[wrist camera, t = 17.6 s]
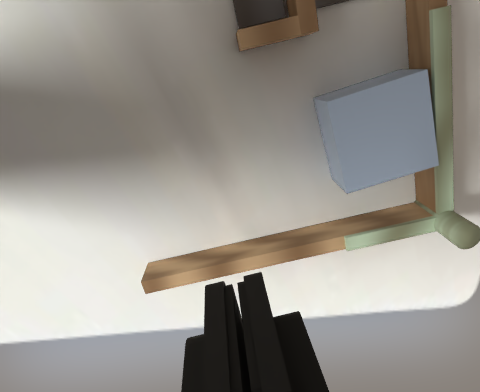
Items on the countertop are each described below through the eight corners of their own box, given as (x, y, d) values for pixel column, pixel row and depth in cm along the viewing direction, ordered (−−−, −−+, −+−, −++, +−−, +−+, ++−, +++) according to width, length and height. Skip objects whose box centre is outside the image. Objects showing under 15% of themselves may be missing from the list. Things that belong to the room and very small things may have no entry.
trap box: (153, 277, 32) (139, 322, 26) (-16, -180, 21) (-103, -272, 15) (434, 214, 31) (481, 245, 26) (417, -297, 20) (493, -439, 14)
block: (331, 178, 30) (347, 193, 26) (312, 97, 28) (326, 102, 24) (411, 153, 30) (438, 165, 26) (399, 69, 27) (427, 69, 23)
